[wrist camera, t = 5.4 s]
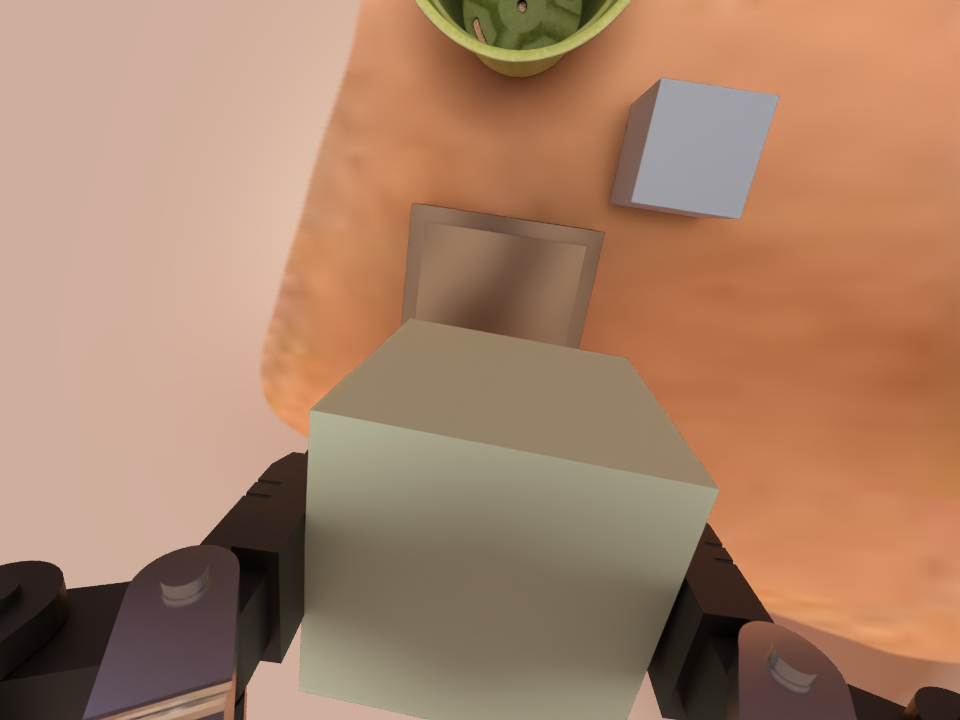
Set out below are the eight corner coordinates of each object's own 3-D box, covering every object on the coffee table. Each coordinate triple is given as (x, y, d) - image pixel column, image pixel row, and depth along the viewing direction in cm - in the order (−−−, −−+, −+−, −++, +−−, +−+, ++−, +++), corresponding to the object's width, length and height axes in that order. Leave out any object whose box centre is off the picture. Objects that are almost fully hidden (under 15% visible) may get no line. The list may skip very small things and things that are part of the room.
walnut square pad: (594, 230, 25) (605, 232, 22) (559, 389, 29) (565, 410, 26) (422, 204, 26) (410, 203, 23) (407, 365, 29) (395, 383, 26)
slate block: (725, 119, 23) (779, 95, 19) (696, 217, 25) (739, 218, 20) (631, 104, 23) (661, 77, 19) (608, 203, 25) (631, 201, 20)
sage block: (627, 358, 12) (719, 489, 6) (575, 536, 14) (610, 760, 8) (409, 318, 12) (310, 409, 7) (389, 499, 14) (298, 691, 8)
